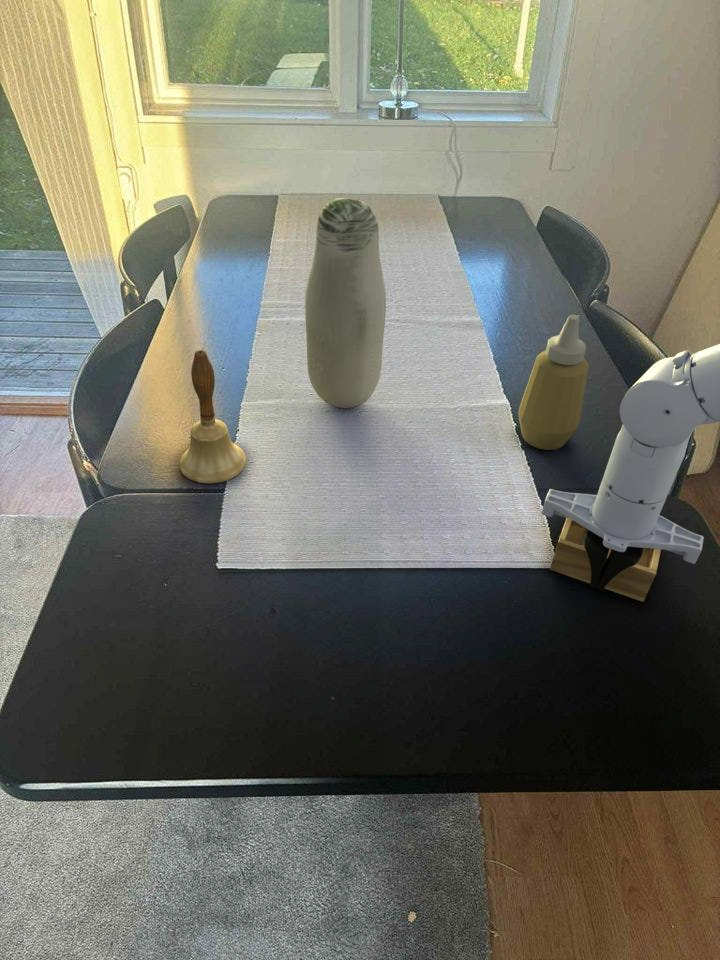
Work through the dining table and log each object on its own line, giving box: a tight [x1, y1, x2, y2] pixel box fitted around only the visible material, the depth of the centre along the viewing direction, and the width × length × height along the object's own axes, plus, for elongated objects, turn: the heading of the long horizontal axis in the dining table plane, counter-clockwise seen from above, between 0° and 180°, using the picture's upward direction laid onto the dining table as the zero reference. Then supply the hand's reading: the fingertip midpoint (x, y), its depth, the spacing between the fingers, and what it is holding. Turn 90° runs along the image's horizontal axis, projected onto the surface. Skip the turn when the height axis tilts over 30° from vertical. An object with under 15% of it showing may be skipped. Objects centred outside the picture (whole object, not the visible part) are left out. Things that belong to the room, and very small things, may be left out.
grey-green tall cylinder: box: [304, 197, 387, 409], centre depth 91 cm, size 10×10×28 cm
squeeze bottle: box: [517, 314, 590, 451], centre depth 89 cm, size 8×8×18 cm
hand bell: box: [179, 349, 247, 484], centre depth 83 cm, size 8×8×16 cm
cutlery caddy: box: [549, 518, 662, 602], centre depth 76 cm, size 8×10×4 cm
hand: (598, 581), depth 72 cm, fingers closed, pressing on cutlery caddy
